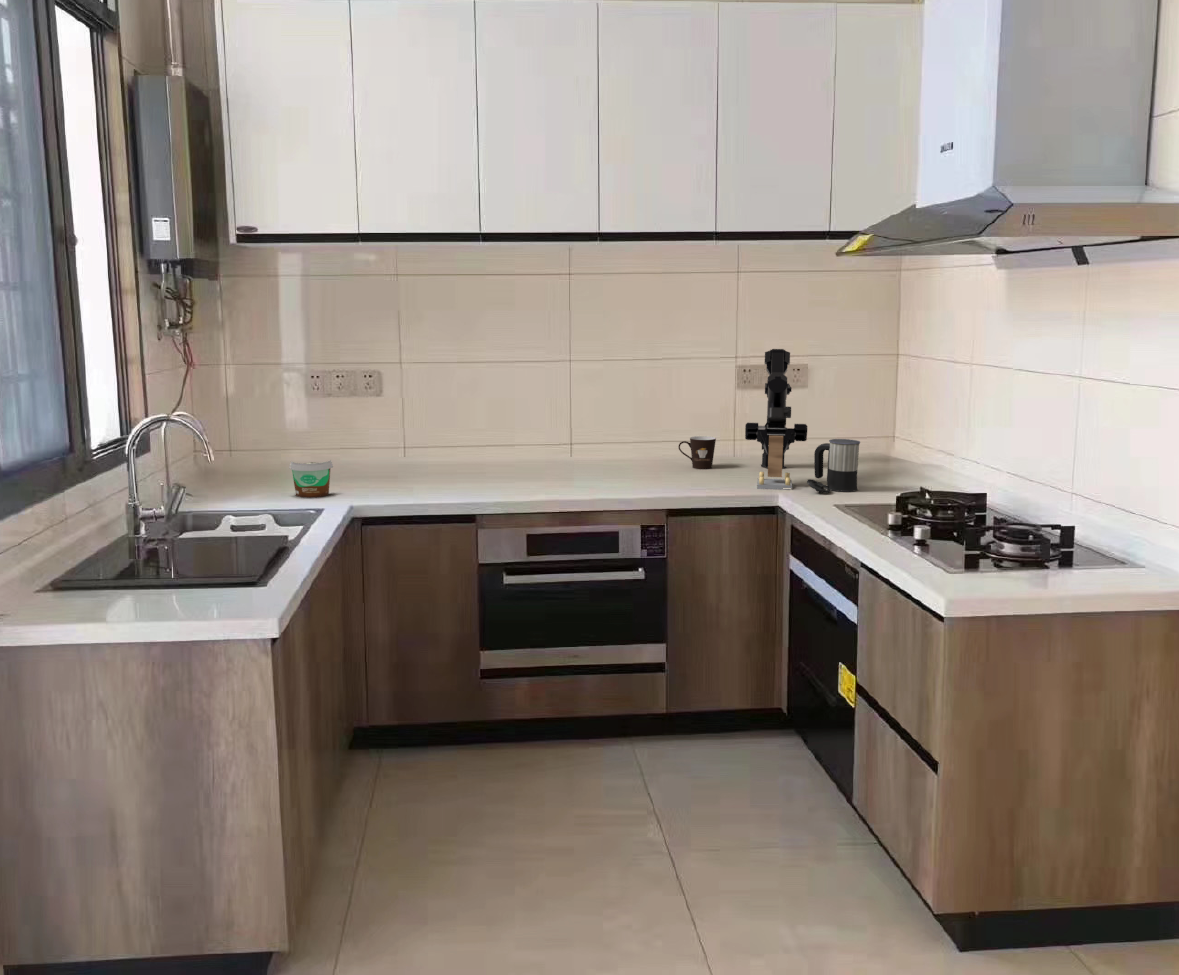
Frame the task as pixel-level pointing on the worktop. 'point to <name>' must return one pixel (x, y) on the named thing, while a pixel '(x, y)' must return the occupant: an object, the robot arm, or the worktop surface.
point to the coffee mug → (701, 451)
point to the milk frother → (837, 466)
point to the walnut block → (775, 456)
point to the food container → (311, 478)
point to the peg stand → (774, 482)
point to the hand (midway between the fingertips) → (775, 454)
